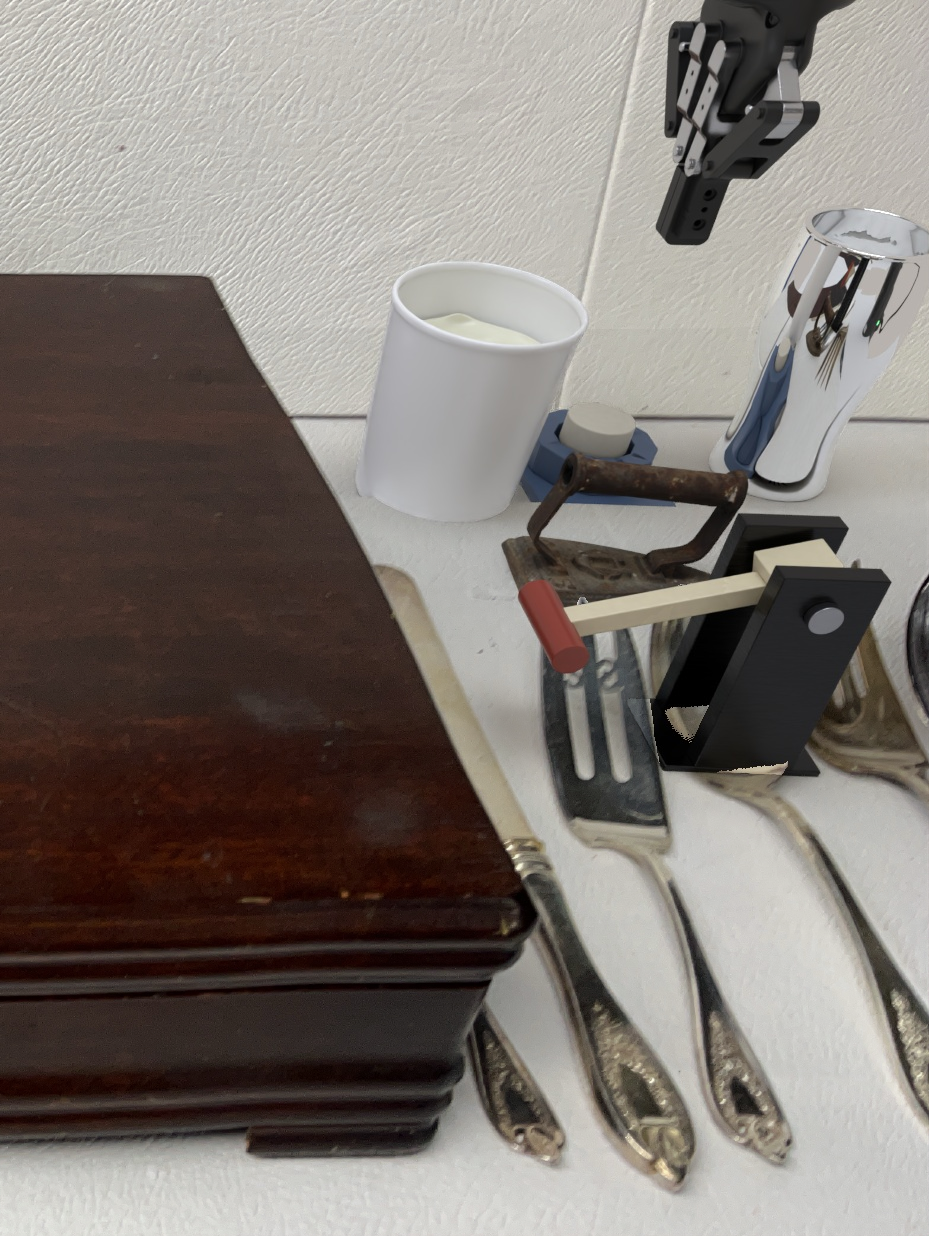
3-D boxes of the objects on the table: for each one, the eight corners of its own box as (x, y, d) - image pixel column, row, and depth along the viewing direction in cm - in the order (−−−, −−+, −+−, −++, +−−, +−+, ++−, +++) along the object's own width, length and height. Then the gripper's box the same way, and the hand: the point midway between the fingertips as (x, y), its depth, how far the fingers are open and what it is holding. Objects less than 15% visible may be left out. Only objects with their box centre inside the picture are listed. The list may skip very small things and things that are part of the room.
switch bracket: (659, 792, 82) (758, 584, 74) (615, 709, 86) (703, 505, 79) (815, 798, 81) (930, 590, 74) (762, 714, 86) (864, 510, 78)
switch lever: (551, 684, 79) (551, 642, 77) (517, 616, 82) (517, 575, 81) (854, 629, 76) (860, 585, 74) (805, 562, 80) (809, 519, 78)
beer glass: (800, 521, 99) (918, 272, 89) (677, 471, 103) (778, 228, 93) (852, 477, 102) (971, 233, 93) (732, 430, 106) (834, 191, 97)
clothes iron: (472, 559, 97) (568, 397, 91) (665, 614, 97) (771, 456, 92) (509, 626, 91) (614, 457, 85) (713, 684, 92) (830, 520, 86)
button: (550, 427, 103) (559, 400, 101) (613, 428, 102) (623, 402, 101) (570, 460, 100) (580, 433, 99) (635, 462, 100) (646, 435, 99)
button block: (489, 428, 106) (501, 392, 105) (616, 432, 106) (630, 396, 105) (541, 521, 99) (555, 483, 97) (678, 526, 98) (695, 488, 97)
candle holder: (522, 557, 96) (594, 359, 88) (335, 523, 99) (389, 328, 91) (519, 465, 103) (585, 275, 96) (344, 436, 106) (395, 249, 98)
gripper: (961, -70, 77) (806, 298, 88) (829, -150, 87) (705, 188, 98) (781, -72, 77) (649, 295, 88) (671, -151, 87) (565, 186, 98)
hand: (679, 238), depth 93 cm, fingers closed
